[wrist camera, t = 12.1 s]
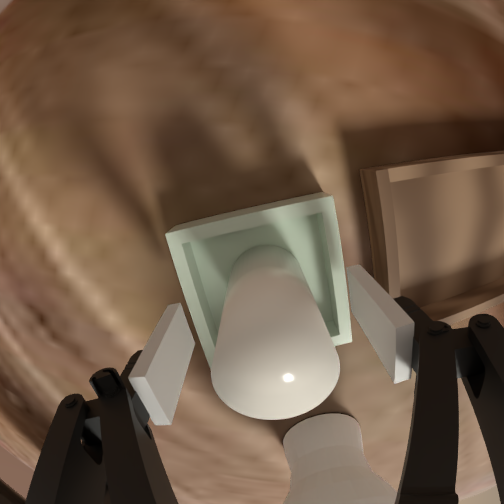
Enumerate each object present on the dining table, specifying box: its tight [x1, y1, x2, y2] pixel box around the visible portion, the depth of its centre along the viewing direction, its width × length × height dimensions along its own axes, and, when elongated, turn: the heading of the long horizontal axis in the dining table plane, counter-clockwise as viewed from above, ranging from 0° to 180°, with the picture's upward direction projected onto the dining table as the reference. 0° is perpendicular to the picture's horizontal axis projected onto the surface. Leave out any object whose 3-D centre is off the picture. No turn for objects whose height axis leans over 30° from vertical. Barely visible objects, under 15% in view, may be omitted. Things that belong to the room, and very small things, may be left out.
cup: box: [283, 413, 397, 504], centre depth 18 cm, size 11×11×15 cm
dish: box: [165, 192, 352, 369], centre depth 20 cm, size 10×10×2 cm
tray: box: [359, 151, 504, 325], centre depth 18 cm, size 21×12×3 cm, turn 103°
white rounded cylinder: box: [211, 245, 340, 420], centre depth 15 cm, size 5×5×10 cm
